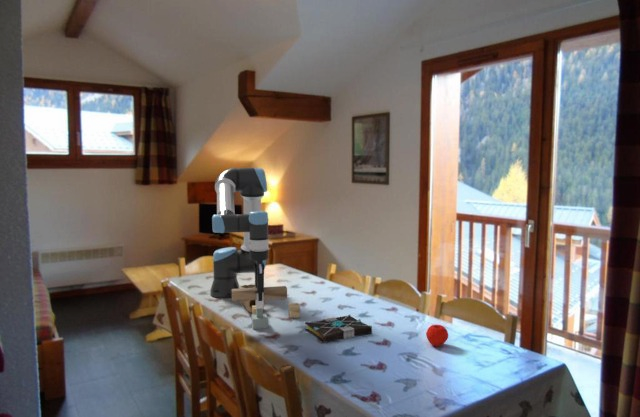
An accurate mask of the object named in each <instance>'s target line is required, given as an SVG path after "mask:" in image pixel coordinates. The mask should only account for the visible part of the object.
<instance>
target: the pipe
mask: <svg viewBox="0 0 640 417" xmlns="http://www.w3.org/2000/svg"><path fill="white" fill-rule="evenodd" d="M255 287H256V286H255V284H252V283H251V284H248V285H247V284H243V285H239V289H241V288H255ZM240 302H241V303H242V305H243V306H244V307H245V309H246V311H247V312H249V313H251V314H252V306H256V300H247V301H240ZM265 304H266V303H265V301H264V306H266V305H265Z"/></svg>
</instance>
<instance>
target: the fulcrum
mask: <svg viewBox="0 0 640 417" xmlns="http://www.w3.org/2000/svg"><path fill="white" fill-rule="evenodd" d="M251 327H252V329H253V330H258V329H259V330H260V329H268V328H269V318H268V315H267V314H266V313H264V308H261V309H257V306H256V315H252V314H251Z"/></svg>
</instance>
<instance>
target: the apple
mask: <svg viewBox="0 0 640 417" xmlns="http://www.w3.org/2000/svg"><path fill="white" fill-rule="evenodd" d="M425 336H426V339H427V341H428V342H429V344H431V345H432V346H434V347H440V346H442V345H444V343H445V342H447V341H448V339H449V332H448V330H447V328H446V327H445V326H443V325H442V324H432V325H430V326H429V327H428V328H427V330H426V332H425Z"/></svg>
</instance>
